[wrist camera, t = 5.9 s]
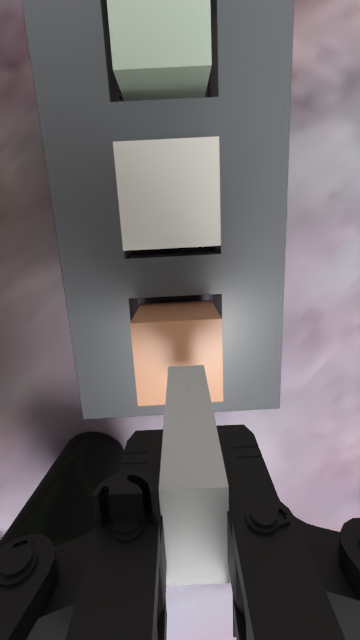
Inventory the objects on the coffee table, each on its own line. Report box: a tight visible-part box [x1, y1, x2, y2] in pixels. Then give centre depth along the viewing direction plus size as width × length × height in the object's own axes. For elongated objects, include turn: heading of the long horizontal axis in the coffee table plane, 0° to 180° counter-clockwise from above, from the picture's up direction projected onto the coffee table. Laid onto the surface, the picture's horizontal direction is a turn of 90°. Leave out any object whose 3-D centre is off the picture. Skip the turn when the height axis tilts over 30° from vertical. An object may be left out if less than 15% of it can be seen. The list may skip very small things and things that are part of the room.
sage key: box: [107, 0, 212, 101], centre depth 17 cm, size 5×5×5 cm
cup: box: [0, 432, 124, 548], centre depth 22 cm, size 8×8×12 cm
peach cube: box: [130, 300, 223, 406], centre depth 19 cm, size 5×5×5 cm
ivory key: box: [113, 136, 221, 251], centre depth 17 cm, size 5×5×5 cm
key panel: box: [22, 0, 294, 419], centre depth 20 cm, size 14×28×4 cm, turn 3°
